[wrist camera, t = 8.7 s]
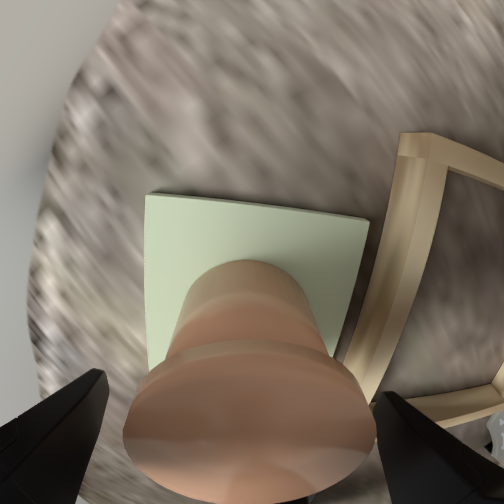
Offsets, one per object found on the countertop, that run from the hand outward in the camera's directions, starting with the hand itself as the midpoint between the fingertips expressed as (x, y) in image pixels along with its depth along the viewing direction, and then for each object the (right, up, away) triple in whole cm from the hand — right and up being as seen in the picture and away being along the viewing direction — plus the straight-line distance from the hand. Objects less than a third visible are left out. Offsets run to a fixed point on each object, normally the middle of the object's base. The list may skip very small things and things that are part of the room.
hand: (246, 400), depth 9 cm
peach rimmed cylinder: (0, +2, +5) cm, 5 cm away
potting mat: (0, +2, +5) cm, 6 cm away
